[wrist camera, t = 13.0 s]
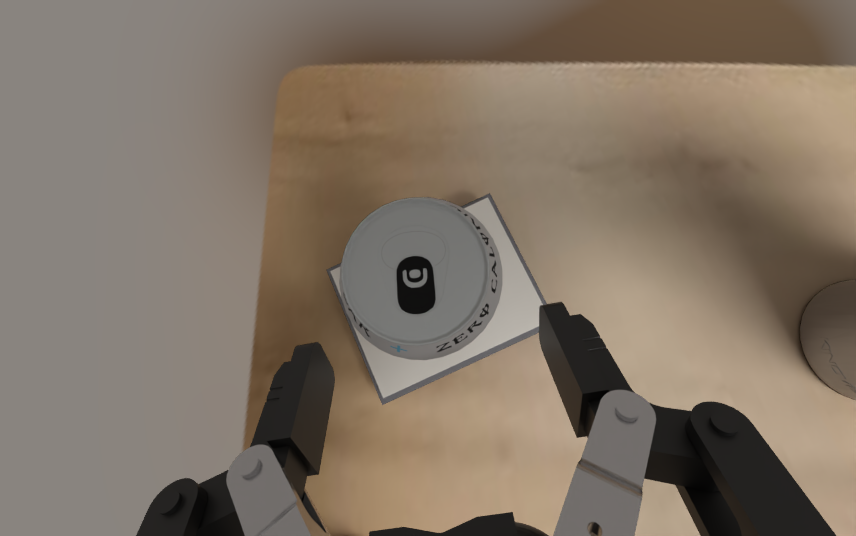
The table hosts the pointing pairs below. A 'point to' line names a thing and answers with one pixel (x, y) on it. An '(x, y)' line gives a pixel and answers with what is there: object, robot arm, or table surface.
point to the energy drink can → (420, 278)
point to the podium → (504, 329)
